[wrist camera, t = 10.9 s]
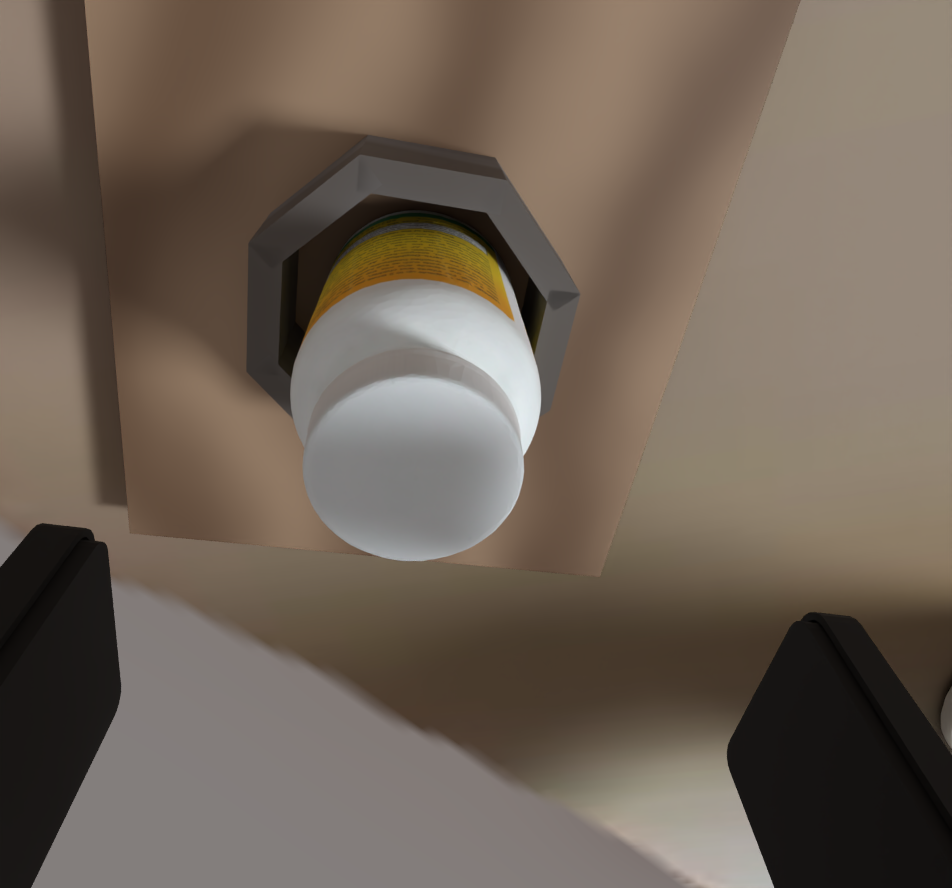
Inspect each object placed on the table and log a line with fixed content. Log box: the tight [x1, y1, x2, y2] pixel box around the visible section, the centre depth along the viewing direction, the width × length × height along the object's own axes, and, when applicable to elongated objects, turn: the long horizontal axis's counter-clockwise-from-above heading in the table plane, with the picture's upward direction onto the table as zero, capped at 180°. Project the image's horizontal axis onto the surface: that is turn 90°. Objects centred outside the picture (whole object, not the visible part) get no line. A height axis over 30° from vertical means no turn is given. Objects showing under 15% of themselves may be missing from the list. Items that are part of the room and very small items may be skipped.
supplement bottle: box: [290, 210, 541, 561], centre depth 17 cm, size 5×5×10 cm
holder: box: [84, 0, 801, 577], centre depth 20 cm, size 17×20×4 cm
